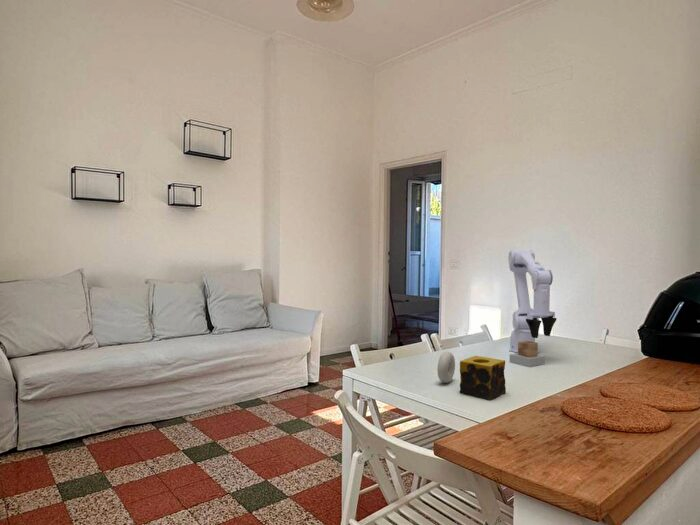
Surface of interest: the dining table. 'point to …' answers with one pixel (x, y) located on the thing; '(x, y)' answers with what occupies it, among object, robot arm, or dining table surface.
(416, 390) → the dining table surface
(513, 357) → the base
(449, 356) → the donut
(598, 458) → the dining table surface
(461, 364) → the candle
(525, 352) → the block
